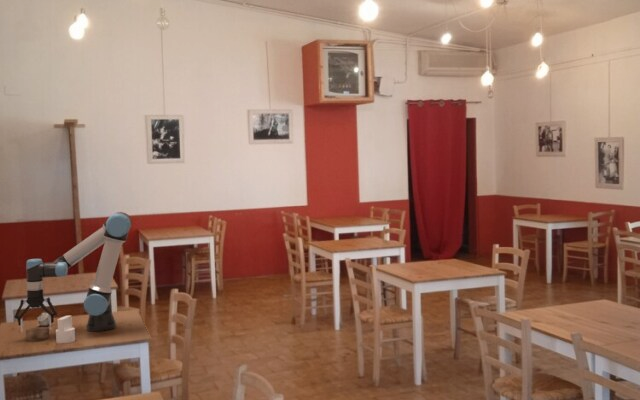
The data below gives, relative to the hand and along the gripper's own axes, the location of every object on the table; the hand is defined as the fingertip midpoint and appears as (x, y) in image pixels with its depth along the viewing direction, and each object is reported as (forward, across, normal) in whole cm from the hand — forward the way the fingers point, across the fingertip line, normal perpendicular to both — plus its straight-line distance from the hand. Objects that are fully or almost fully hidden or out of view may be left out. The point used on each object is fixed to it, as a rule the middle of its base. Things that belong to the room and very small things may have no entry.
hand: (36, 330), depth 346 cm
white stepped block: (+4, -15, +11) cm, 19 cm away
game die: (+5, -2, -30) cm, 30 cm away
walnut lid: (+5, -1, 0) cm, 5 cm away
